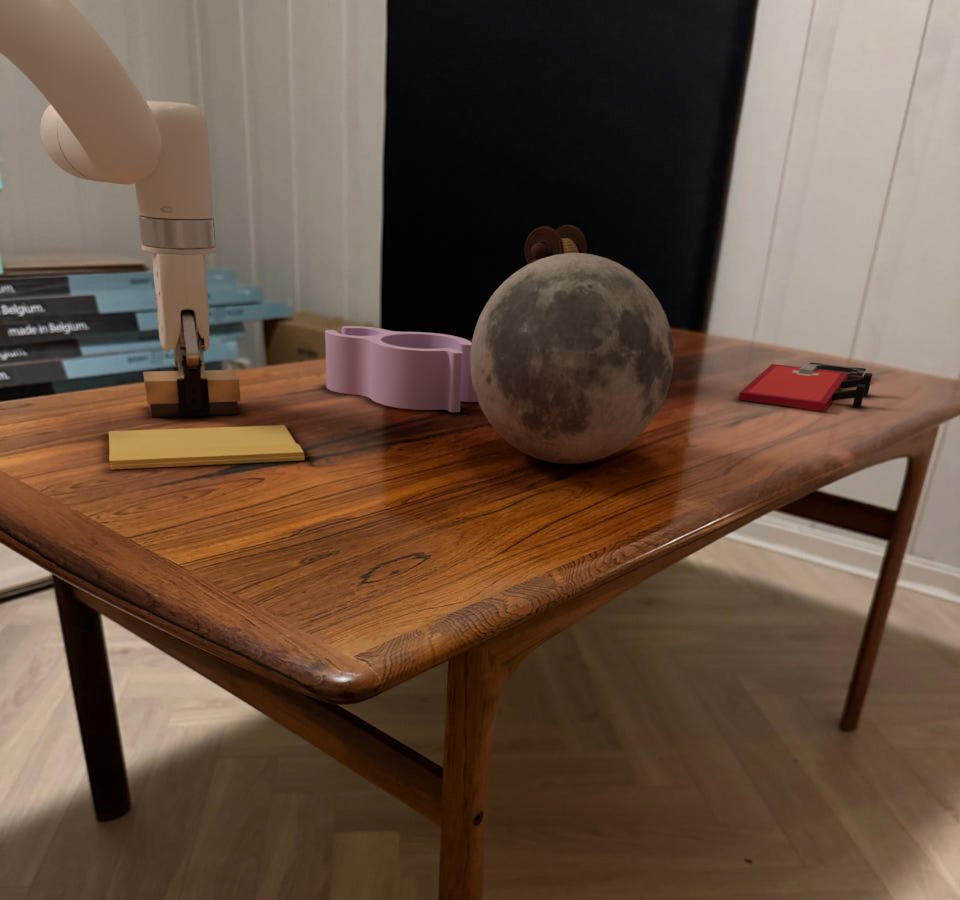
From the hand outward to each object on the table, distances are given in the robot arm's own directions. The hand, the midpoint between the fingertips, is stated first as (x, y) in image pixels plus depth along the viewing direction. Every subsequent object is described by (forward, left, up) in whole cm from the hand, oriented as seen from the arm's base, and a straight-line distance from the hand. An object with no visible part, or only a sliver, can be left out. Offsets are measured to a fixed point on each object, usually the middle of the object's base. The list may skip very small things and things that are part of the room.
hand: (192, 407), depth 108 cm
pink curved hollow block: (+26, +5, -1) cm, 26 cm away
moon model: (+35, -25, -1) cm, 43 cm away
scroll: (+48, +10, -1) cm, 49 cm away
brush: (0, 0, 0) cm, 0 cm away
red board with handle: (+87, +2, -1) cm, 87 cm away
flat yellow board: (0, -15, 0) cm, 15 cm away
